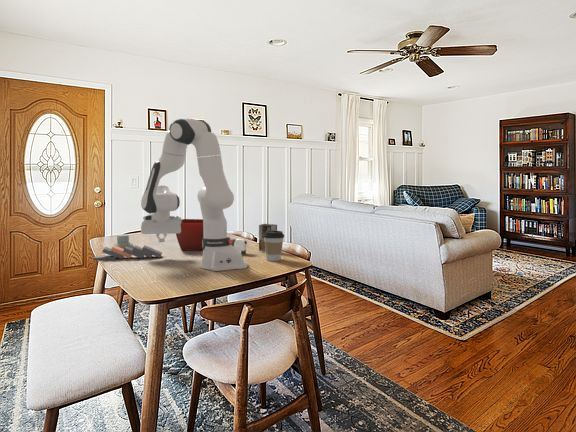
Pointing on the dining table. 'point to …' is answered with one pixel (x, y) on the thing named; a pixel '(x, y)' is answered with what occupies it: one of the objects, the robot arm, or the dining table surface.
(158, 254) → the domino
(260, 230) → the coffee box
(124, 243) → the air freshener
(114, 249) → the domino
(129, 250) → the domino
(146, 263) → the dining table surface
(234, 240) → the giant panda
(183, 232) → the plant pot
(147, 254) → the domino
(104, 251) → the domino
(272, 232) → the coffee cup
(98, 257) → the domino
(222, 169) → the robot arm
